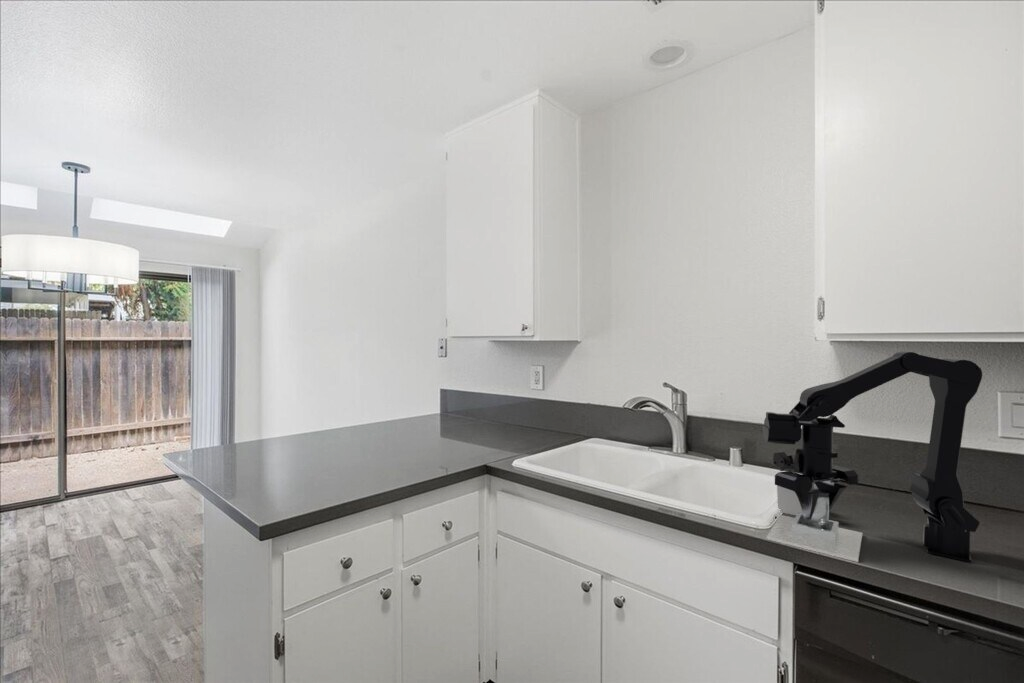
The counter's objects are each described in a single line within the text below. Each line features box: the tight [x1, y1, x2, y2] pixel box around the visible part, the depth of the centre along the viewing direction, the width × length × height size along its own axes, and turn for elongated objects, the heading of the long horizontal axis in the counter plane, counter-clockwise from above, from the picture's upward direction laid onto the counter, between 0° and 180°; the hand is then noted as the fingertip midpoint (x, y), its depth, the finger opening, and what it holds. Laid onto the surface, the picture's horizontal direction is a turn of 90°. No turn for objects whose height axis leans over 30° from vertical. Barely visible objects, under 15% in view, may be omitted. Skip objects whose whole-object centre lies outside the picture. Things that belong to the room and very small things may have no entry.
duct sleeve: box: [804, 488, 830, 530], centre depth 103 cm, size 5×5×8 cm
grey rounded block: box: [776, 484, 818, 517], centre depth 119 cm, size 8×10×10 cm
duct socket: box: [766, 513, 863, 563], centre depth 104 cm, size 16×16×3 cm
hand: (815, 517), depth 103 cm, fingers closed on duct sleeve, 4 cm apart
